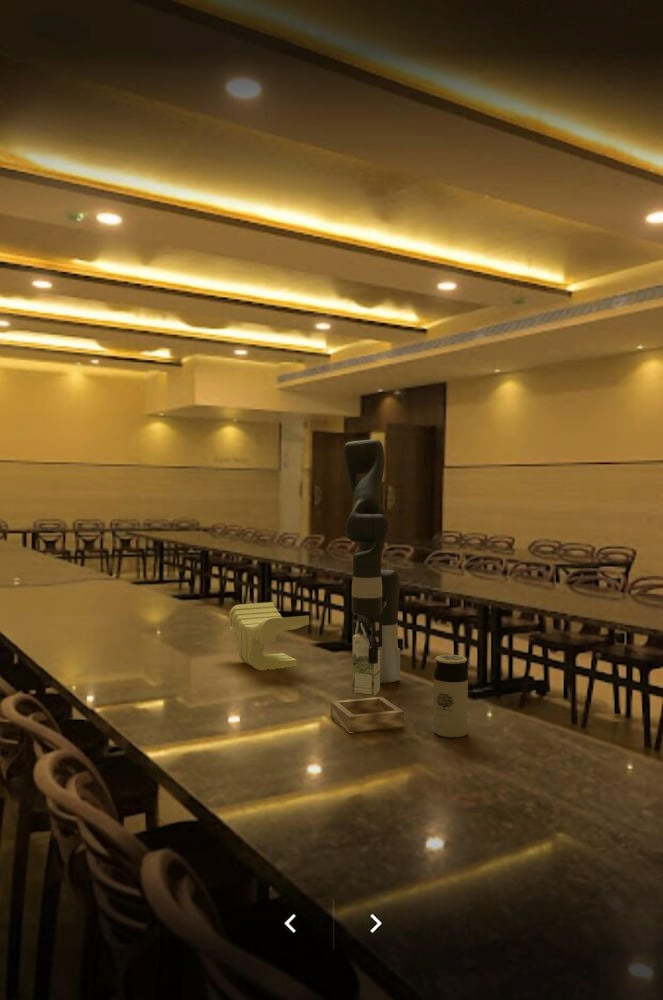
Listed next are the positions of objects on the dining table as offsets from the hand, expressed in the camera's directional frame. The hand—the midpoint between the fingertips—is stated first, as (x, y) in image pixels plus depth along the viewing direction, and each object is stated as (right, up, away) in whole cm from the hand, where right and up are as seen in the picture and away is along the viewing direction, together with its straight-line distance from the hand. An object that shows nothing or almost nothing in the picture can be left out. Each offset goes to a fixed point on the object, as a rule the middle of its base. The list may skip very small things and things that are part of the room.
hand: (366, 659), depth 197 cm
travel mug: (+20, -16, -8) cm, 27 cm away
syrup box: (0, -8, 0) cm, 8 cm away
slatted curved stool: (-30, -14, +62) cm, 70 cm away
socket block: (0, -16, 0) cm, 16 cm away
